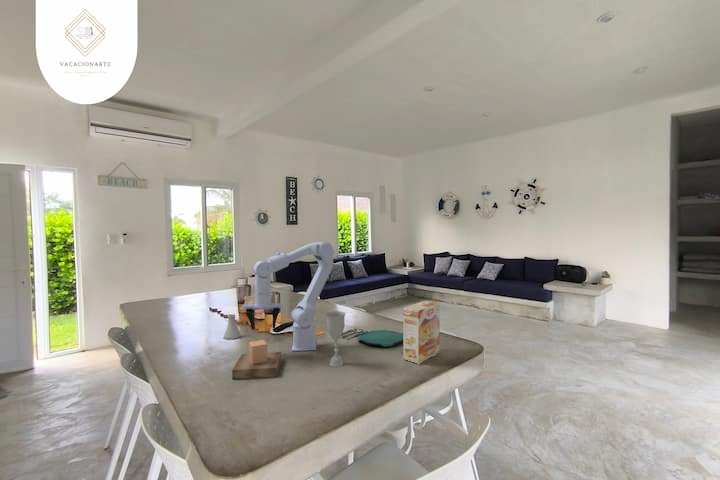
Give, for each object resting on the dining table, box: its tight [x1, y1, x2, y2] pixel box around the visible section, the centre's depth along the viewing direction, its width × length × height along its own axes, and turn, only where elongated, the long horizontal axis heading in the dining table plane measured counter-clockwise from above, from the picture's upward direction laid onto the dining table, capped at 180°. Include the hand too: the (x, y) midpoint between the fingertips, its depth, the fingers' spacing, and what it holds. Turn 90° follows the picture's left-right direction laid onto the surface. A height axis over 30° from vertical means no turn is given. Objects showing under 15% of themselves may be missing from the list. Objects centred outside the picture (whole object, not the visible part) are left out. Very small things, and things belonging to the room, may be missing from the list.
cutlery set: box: [340, 328, 403, 348], centre depth 151 cm, size 20×30×2 cm, turn 53°
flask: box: [223, 313, 242, 340], centre depth 154 cm, size 7×7×10 cm
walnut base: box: [231, 351, 282, 380], centre depth 120 cm, size 14×14×3 cm
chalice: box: [325, 310, 347, 367], centre depth 123 cm, size 7×7×18 cm
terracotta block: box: [248, 339, 268, 364], centre depth 120 cm, size 5×5×6 cm
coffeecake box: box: [402, 300, 441, 365], centre depth 129 cm, size 15×7×20 cm, turn 137°
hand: (263, 328), depth 132 cm, fingers open, 7 cm apart
